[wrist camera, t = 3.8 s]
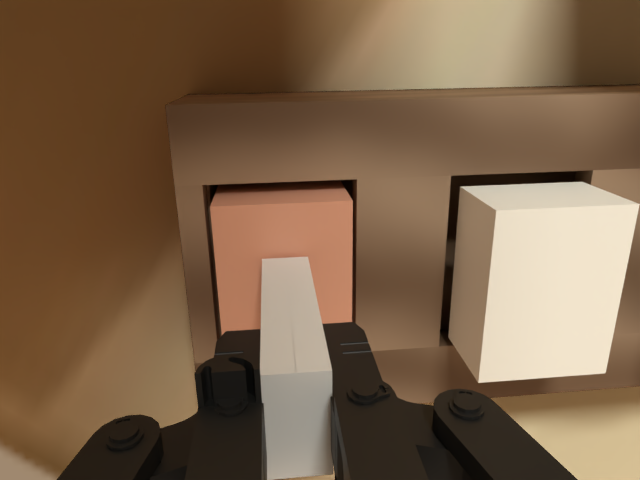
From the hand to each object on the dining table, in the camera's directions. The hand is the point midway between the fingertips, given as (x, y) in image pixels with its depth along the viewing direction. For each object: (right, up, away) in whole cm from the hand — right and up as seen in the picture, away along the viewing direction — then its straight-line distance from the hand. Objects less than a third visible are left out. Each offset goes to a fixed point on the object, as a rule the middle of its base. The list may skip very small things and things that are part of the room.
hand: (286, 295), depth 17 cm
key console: (+8, +3, +7) cm, 11 cm away
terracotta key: (0, +1, +3) cm, 3 cm away
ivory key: (+8, +1, +2) cm, 9 cm away
